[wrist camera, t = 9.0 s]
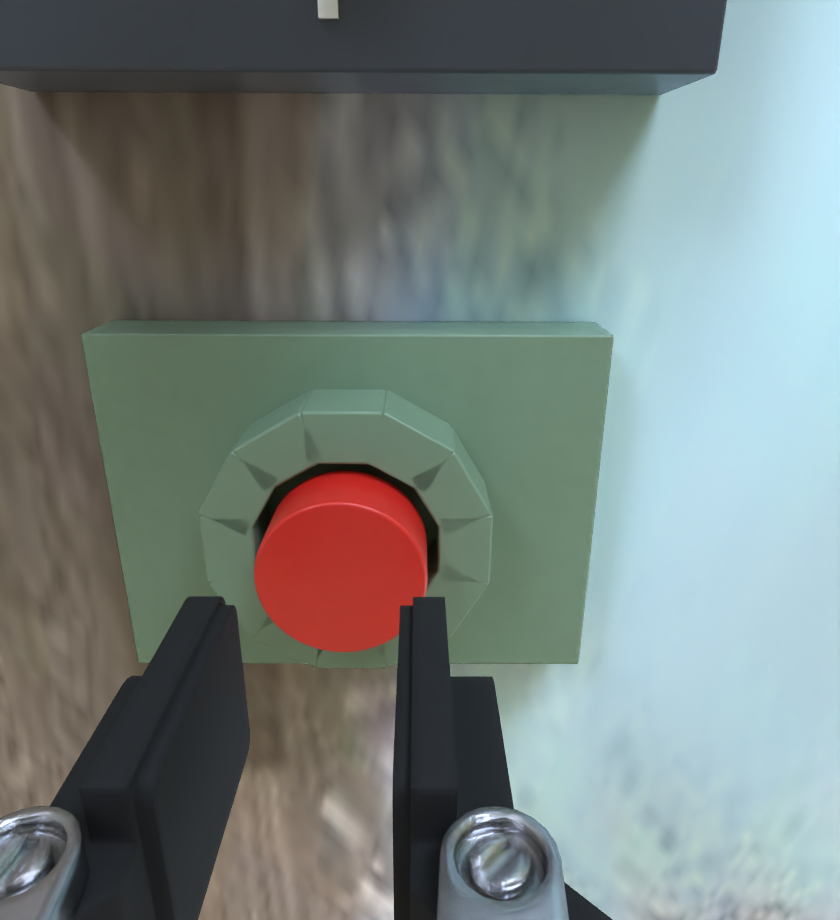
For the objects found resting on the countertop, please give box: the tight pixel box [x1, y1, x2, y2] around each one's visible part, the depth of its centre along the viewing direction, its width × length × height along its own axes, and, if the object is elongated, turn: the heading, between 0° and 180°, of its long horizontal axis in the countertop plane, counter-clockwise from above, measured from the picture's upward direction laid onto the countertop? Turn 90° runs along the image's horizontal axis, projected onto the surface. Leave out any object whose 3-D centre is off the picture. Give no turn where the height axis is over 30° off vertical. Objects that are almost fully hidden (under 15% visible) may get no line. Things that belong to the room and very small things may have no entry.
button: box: [254, 471, 428, 652], centre depth 15 cm, size 4×4×2 cm
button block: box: [81, 320, 613, 668], centre depth 17 cm, size 12×9×4 cm
